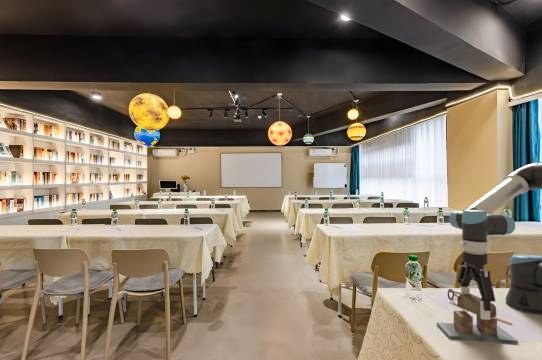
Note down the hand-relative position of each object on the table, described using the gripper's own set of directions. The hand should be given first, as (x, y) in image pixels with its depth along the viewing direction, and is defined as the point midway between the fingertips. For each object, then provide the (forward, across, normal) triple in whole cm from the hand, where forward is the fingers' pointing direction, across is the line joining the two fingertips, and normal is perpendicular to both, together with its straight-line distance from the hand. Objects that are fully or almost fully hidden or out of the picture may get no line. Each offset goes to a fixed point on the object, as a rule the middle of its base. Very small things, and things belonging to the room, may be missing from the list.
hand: (474, 311), depth 104 cm
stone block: (+1, 0, +1) cm, 1 cm away
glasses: (+9, -29, +13) cm, 33 cm away
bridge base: (+8, 0, 0) cm, 8 cm away
